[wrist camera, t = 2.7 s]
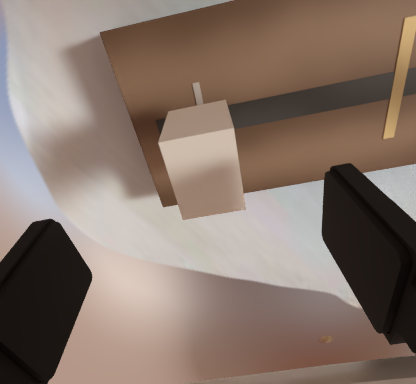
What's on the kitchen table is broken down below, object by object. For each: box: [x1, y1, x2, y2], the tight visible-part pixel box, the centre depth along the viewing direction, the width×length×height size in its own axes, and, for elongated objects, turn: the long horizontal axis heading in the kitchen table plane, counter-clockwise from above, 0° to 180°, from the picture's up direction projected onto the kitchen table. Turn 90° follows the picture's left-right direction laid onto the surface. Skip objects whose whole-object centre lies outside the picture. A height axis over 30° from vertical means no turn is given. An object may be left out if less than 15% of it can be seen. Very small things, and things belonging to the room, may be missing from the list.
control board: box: [100, 0, 416, 207], centre depth 18 cm, size 12×24×3 cm, turn 101°
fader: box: [158, 100, 246, 220], centre depth 14 cm, size 4×3×7 cm
